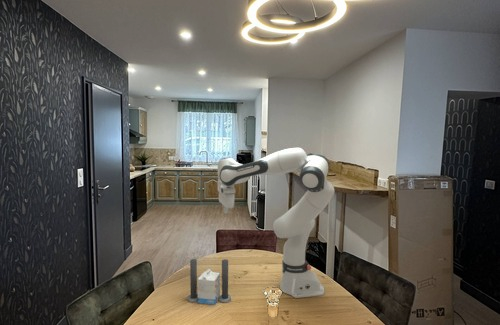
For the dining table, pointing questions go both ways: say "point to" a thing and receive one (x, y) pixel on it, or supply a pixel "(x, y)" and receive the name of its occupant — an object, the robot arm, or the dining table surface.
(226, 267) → the post
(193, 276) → the post
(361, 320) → the dining table surface
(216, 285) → the ink box
